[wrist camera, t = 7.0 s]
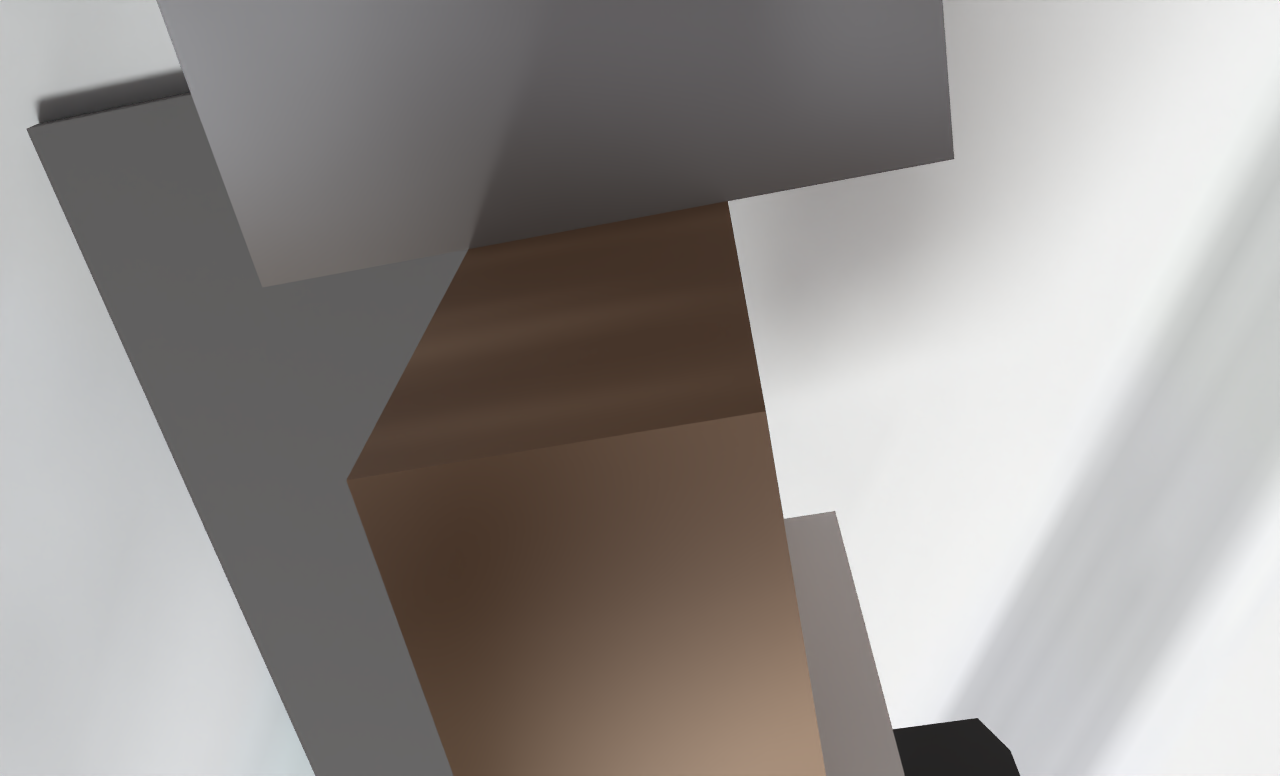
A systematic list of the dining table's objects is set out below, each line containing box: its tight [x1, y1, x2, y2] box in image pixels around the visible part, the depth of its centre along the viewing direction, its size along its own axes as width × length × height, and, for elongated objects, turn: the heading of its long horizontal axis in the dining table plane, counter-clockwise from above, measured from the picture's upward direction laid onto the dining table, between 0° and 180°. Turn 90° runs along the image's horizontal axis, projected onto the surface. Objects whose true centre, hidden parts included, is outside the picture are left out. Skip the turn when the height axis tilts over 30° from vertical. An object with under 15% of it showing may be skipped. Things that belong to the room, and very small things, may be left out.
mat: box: [27, 92, 468, 776], centre depth 26 cm, size 12×28×1 cm, turn 11°
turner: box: [157, 0, 954, 776], centre depth 11 cm, size 24×8×6 cm, turn 11°
